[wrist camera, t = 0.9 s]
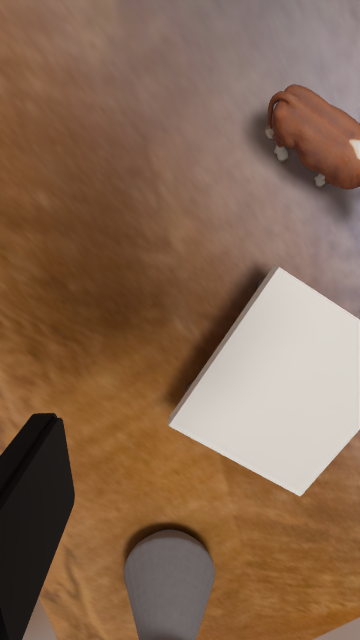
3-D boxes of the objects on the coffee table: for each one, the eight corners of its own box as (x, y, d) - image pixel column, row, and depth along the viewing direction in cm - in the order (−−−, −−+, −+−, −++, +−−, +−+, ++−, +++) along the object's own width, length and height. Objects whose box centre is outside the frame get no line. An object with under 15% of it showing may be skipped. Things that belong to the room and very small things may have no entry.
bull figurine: (347, 228, 33) (399, 228, 25) (245, 134, 30) (267, 102, 22) (380, 190, 32) (445, 179, 24) (277, 91, 29) (312, 42, 22)
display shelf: (262, 260, 33) (279, 266, 28) (382, 338, 36) (420, 359, 30) (170, 395, 38) (168, 425, 32) (283, 457, 40) (300, 496, 34)
